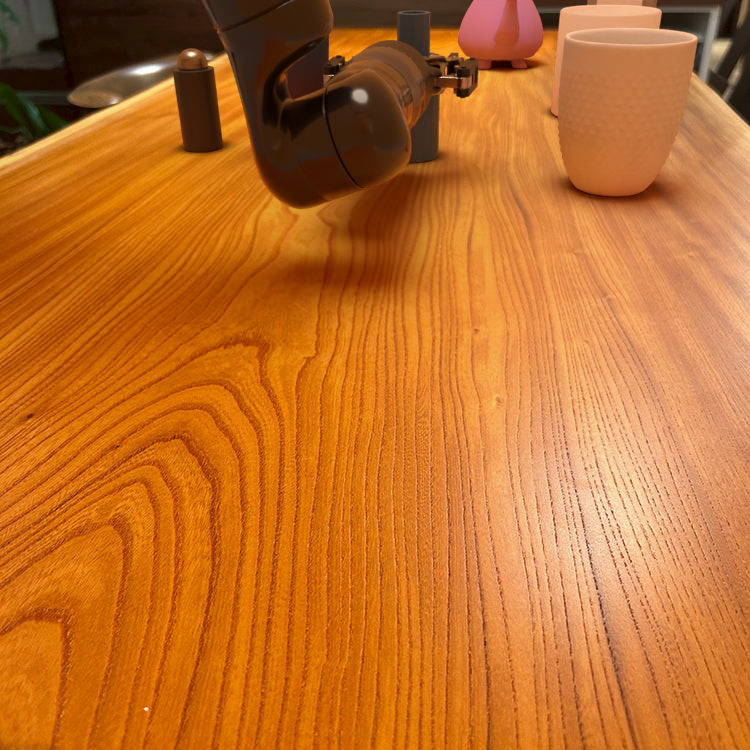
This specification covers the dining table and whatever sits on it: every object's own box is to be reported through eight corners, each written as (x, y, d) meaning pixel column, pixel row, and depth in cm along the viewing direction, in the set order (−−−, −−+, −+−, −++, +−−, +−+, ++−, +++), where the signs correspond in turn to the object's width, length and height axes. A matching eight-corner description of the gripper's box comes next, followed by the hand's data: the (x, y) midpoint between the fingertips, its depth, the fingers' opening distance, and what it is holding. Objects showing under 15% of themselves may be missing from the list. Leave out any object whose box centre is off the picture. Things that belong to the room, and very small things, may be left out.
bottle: (383, 161, 81) (381, 15, 74) (392, 148, 86) (392, 9, 79) (434, 163, 80) (437, 15, 73) (441, 150, 85) (444, 9, 78)
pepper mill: (177, 151, 86) (162, 51, 81) (193, 141, 90) (180, 45, 85) (214, 152, 85) (201, 52, 80) (228, 142, 89) (217, 45, 84)
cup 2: (532, 109, 101) (540, 8, 95) (601, 100, 105) (613, 2, 99) (592, 128, 92) (606, 17, 86) (665, 116, 96) (683, 10, 90)
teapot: (553, 74, 122) (561, -14, 116) (463, 76, 122) (466, -12, 116) (531, 54, 139) (537, -23, 133) (452, 56, 139) (455, -22, 133)
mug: (540, 158, 81) (553, 22, 74) (648, 159, 80) (671, 21, 73) (555, 204, 68) (572, 45, 62) (684, 206, 67) (715, 44, 61)
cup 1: (297, 163, 81) (286, 5, 74) (262, 150, 86) (248, 1, 78) (348, 151, 85) (343, 0, 77) (312, 139, 90) (304, -4, 82)
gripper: (467, 48, 62) (485, 23, 76) (297, 45, 65) (344, 22, 79) (463, 142, 66) (480, 102, 80) (303, 136, 69) (346, 99, 82)
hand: (413, 62), depth 79 cm, fingers open, 8 cm apart
